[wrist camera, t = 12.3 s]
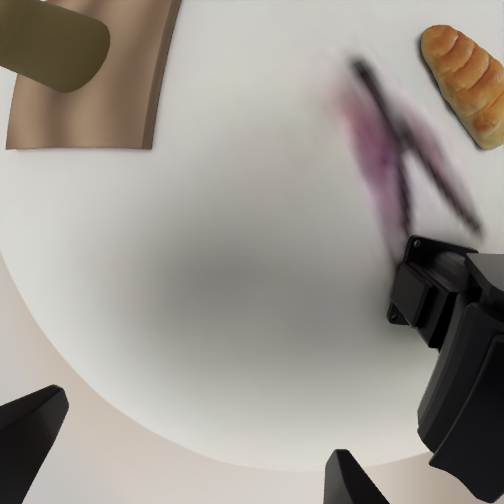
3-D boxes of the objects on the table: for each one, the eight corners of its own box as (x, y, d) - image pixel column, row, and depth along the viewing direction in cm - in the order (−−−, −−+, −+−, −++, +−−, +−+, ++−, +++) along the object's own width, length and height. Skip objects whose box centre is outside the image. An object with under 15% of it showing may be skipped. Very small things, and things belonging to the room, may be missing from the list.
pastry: (395, 59, 15) (418, 40, 11) (437, 16, 13) (460, -3, 10) (480, 158, 16) (512, 159, 13) (512, 107, 14) (542, 103, 11)
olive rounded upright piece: (90, 98, 16) (-41, 73, 5) (37, 89, 16) (-74, 75, 5) (124, 20, 14) (22, -50, 4) (67, 20, 14) (-30, -23, 3)
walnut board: (188, -24, 14) (183, -34, 13) (151, 149, 18) (141, 148, 17) (49, 7, 15) (40, 3, 13) (17, 149, 19) (5, 149, 17)
